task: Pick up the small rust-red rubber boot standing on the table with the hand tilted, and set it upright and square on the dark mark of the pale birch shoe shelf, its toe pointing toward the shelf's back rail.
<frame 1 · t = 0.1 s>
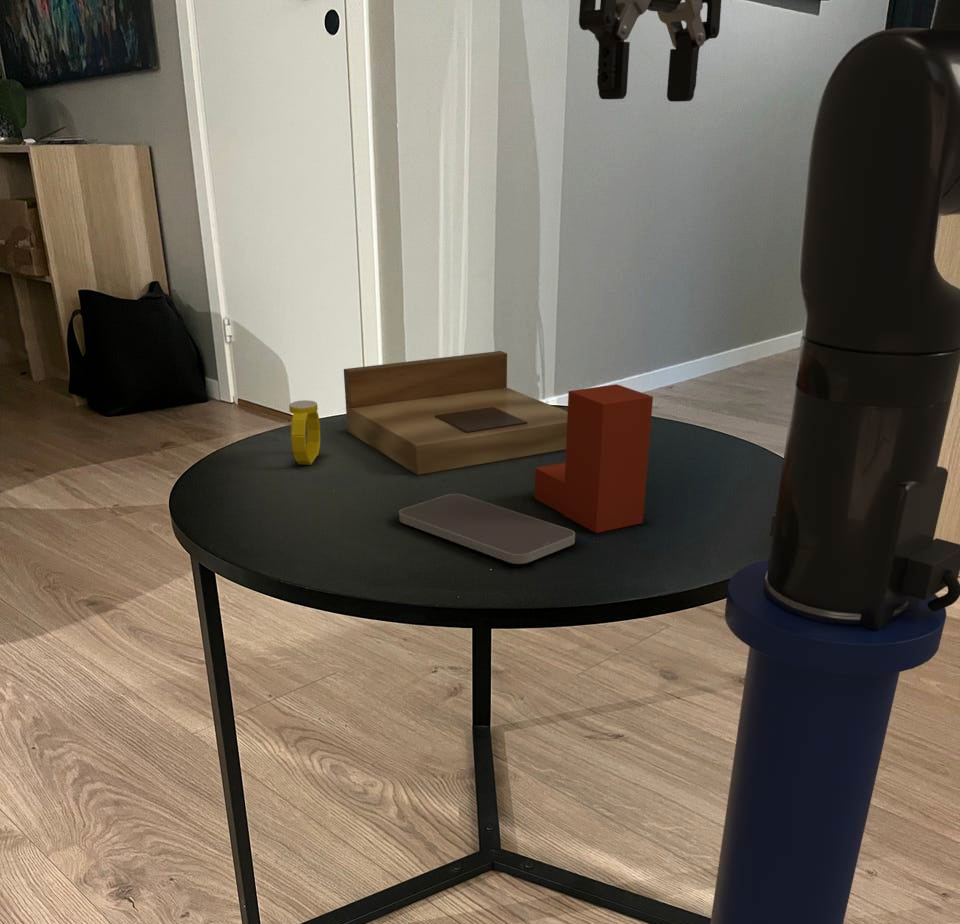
hand: (647, 100, 78), 32 cm above the table, tool pointing down, fingers open, 8 cm apart
boot: (602, 519, 86), on the table
smartphone: (484, 533, 83), on the table
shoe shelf: (462, 438, 109), on the table
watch: (308, 462, 102), on the table
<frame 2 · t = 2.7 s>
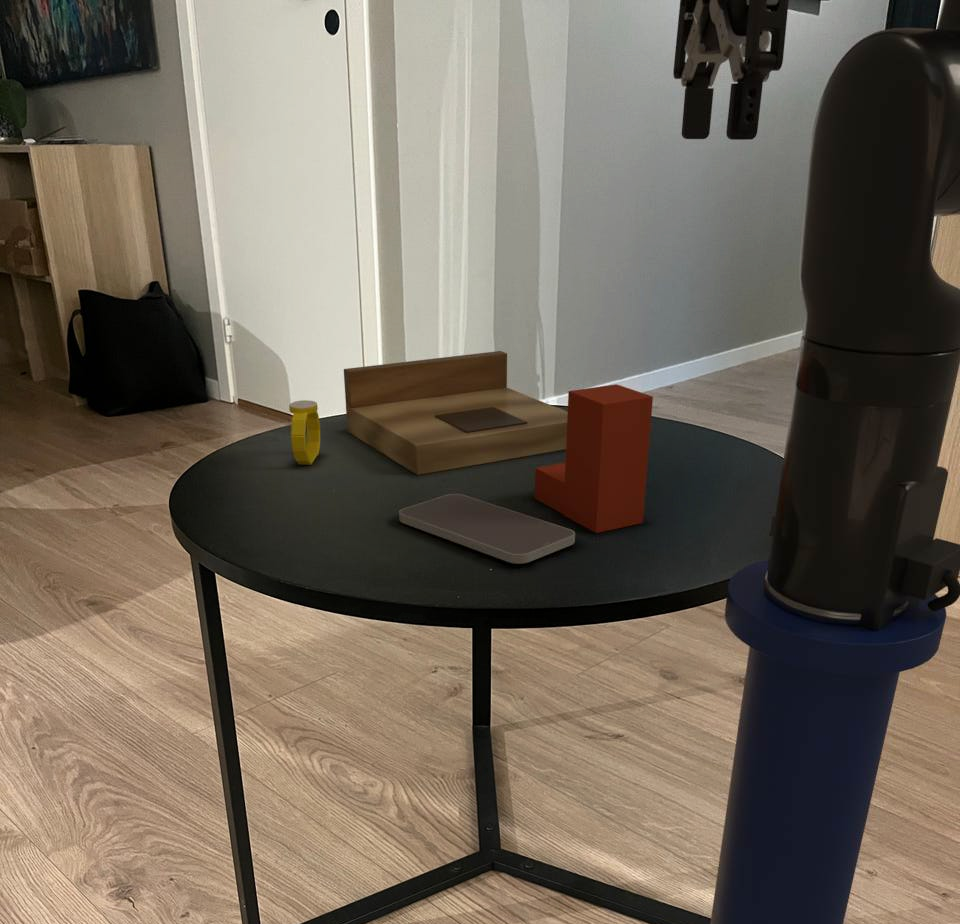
hand: (716, 139, 79), 30 cm above the table, tool pointing down, fingers open, 8 cm apart
nothing on the table moved.
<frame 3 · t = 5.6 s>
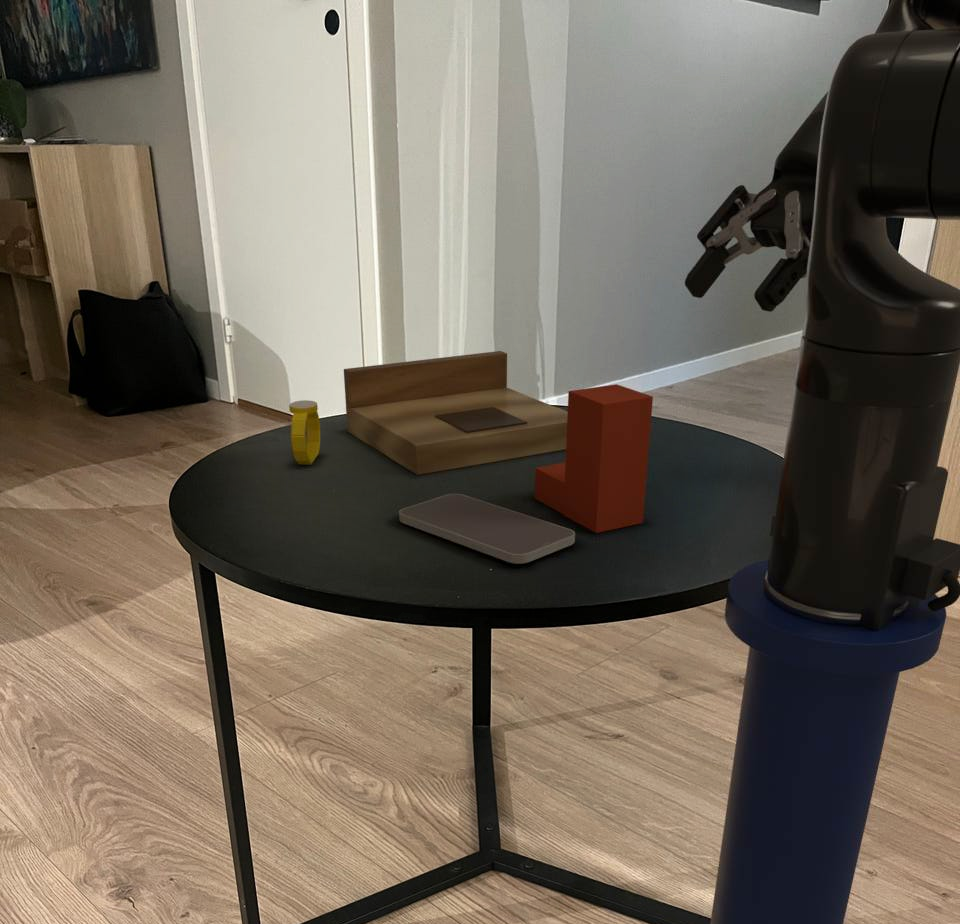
hand: (724, 297, 83), 18 cm above the table, tool tilted 45°, fingers open, 8 cm apart
nothing on the table moved.
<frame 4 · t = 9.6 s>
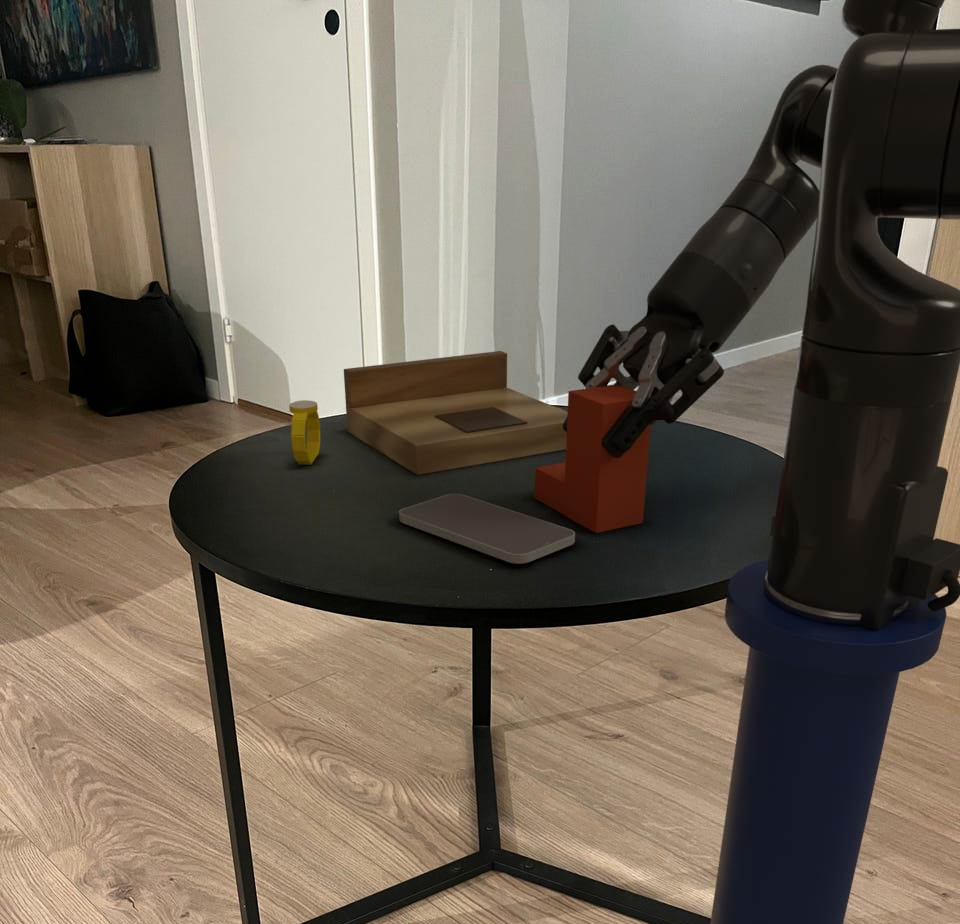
hand: (589, 442, 82), 7 cm above the table, tool tilted 45°, fingers closed on boot, 5 cm apart
boot: (602, 519, 86), on the table, touching gripper
everything else where it was.
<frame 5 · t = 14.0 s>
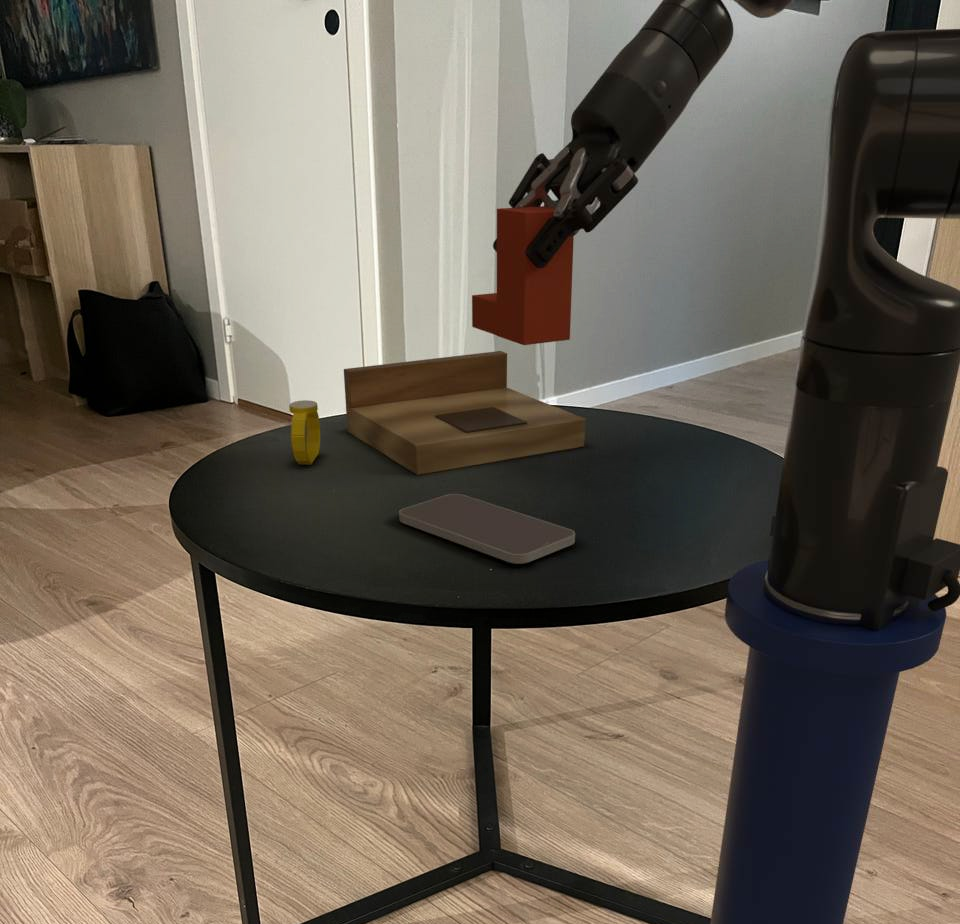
hand: (516, 257, 87), 20 cm above the table, tool tilted 45°, fingers closed on boot, 5 cm apart
boot: (532, 337, 92), point 13 cm above the table, touching gripper
everything else where it was.
when the fingers open (10 cm above the table, at t = 18.5 s): boot stays where it is, resting on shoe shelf.
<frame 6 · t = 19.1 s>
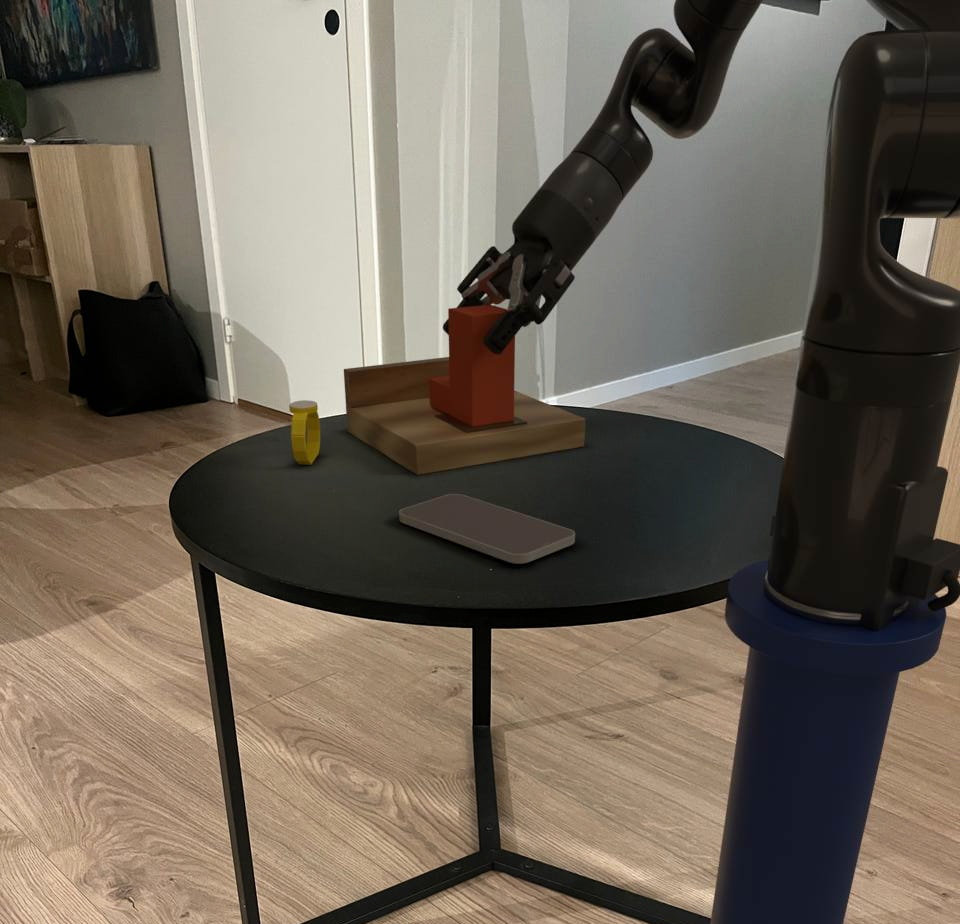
hand: (468, 341, 100), 11 cm above the table, tool tilted 45°, fingers open, 8 cm apart
boot: (481, 418, 104), point 3 cm above the table, touching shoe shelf
everything else where it was.
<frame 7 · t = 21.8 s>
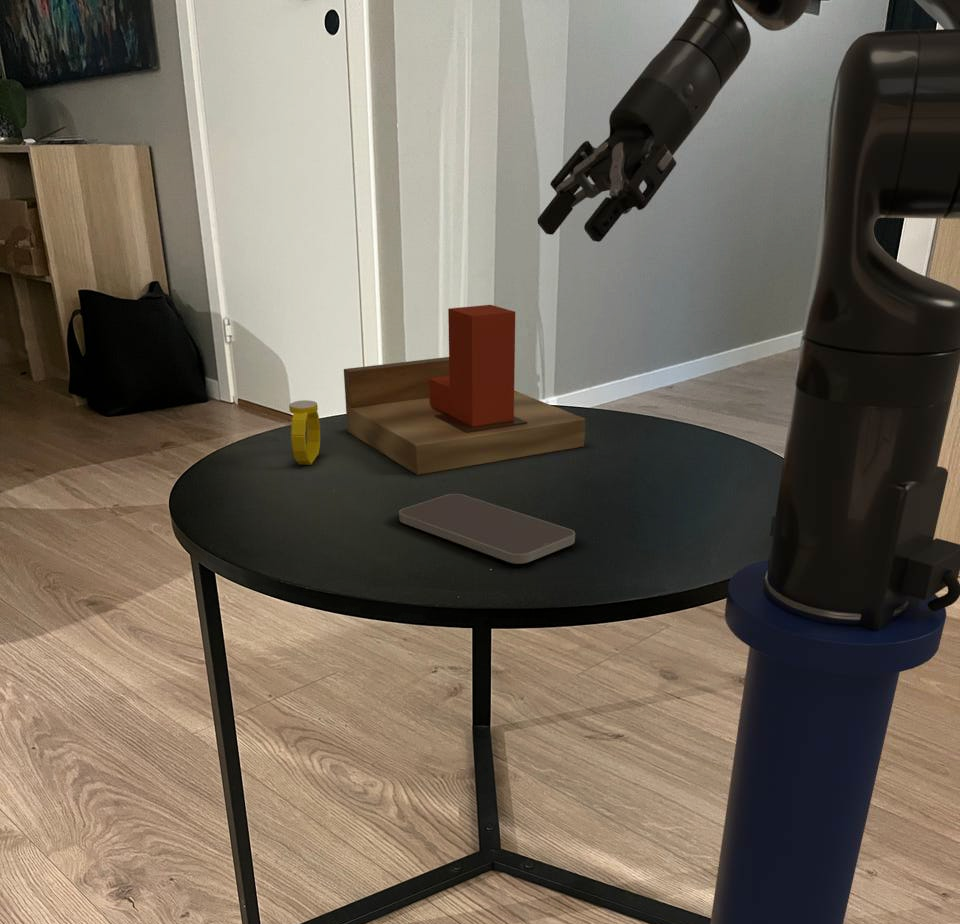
hand: (566, 232, 100), 21 cm above the table, tool tilted 45°, fingers open, 8 cm apart
nothing on the table moved.
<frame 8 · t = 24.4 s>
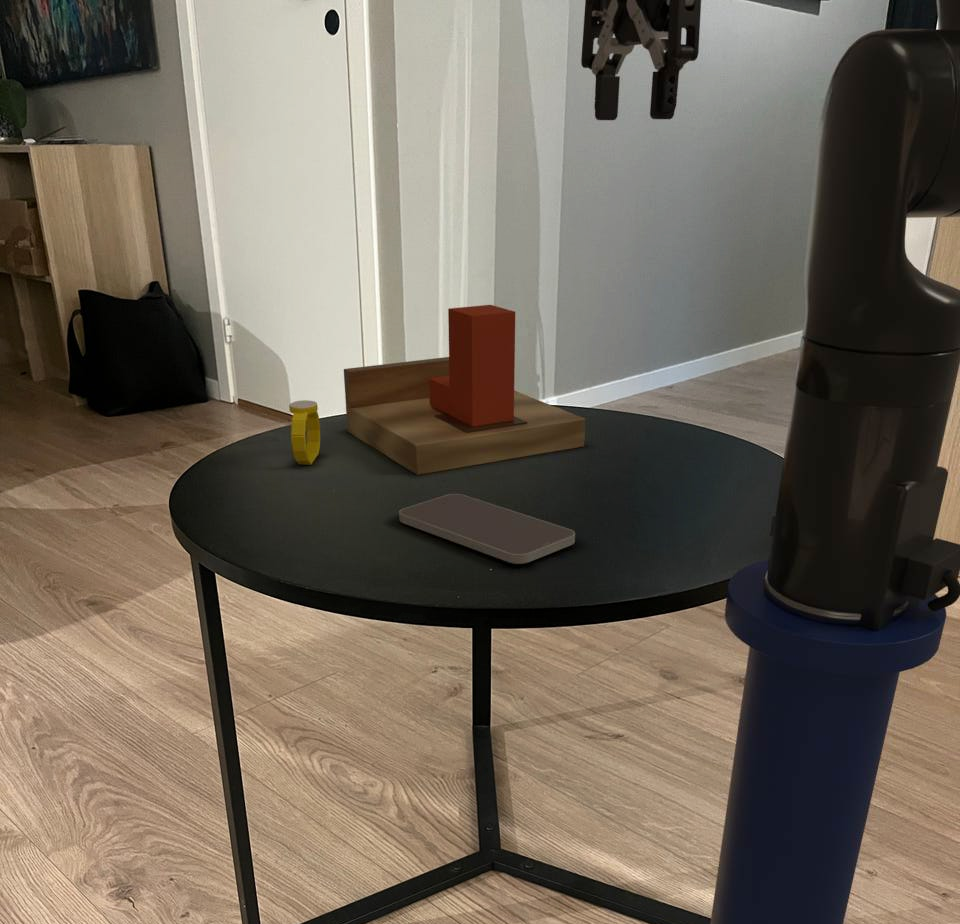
hand: (632, 119, 92), 31 cm above the table, tool pointing down, fingers open, 8 cm apart
nothing on the table moved.
at the end: boot inside the target area on the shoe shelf (0.4 cm from its centre), point 3.2 cm above the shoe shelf's base; boot tilted 0°; the gripper is holding nothing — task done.
